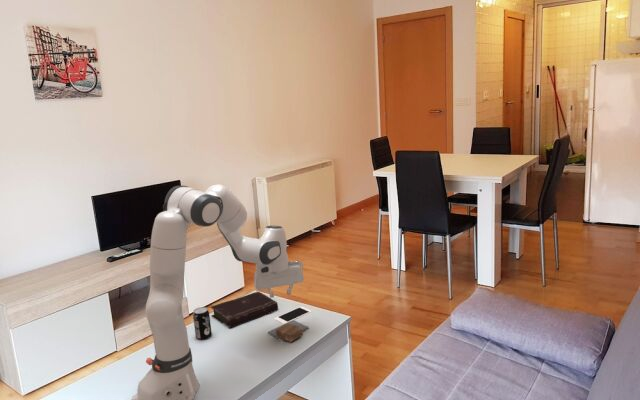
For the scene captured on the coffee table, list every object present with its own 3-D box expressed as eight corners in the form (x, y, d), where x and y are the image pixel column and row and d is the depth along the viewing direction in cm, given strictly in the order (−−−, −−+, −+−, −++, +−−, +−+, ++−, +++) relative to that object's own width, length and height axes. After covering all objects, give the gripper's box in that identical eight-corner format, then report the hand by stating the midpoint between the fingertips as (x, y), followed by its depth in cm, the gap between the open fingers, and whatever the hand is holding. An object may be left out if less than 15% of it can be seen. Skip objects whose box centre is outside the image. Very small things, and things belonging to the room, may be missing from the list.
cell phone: (273, 319, 226) (273, 318, 226) (301, 307, 236) (301, 306, 236) (284, 325, 220) (284, 323, 220) (312, 312, 231) (312, 310, 230)
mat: (282, 341, 206) (282, 339, 205) (267, 333, 213) (267, 331, 213) (308, 328, 215) (308, 326, 214) (293, 321, 222) (293, 319, 222)
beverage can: (213, 332, 217) (210, 306, 214) (209, 340, 211) (205, 313, 208) (198, 332, 218) (195, 306, 215) (193, 340, 211) (190, 313, 209)
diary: (278, 312, 234) (278, 301, 233) (230, 330, 219) (229, 320, 218) (257, 299, 248) (256, 289, 247) (210, 316, 234) (209, 306, 232)
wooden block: (302, 328, 207) (288, 322, 213) (290, 335, 202) (275, 329, 208) (302, 334, 208) (288, 329, 213) (290, 342, 203) (276, 336, 208)
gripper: (300, 257, 213) (303, 288, 216) (251, 265, 208) (255, 296, 211) (304, 262, 207) (306, 293, 211) (254, 270, 202) (257, 302, 205)
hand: (280, 295), depth 211 cm, fingers open, 6 cm apart
